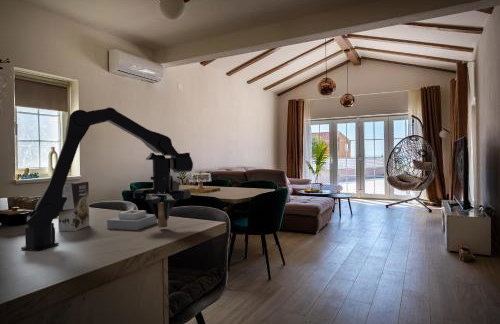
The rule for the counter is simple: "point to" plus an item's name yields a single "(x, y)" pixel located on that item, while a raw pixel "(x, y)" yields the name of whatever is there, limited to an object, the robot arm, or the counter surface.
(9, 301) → the counter surface
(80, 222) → the coffee box
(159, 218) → the tapered wooden peg
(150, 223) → the button box
